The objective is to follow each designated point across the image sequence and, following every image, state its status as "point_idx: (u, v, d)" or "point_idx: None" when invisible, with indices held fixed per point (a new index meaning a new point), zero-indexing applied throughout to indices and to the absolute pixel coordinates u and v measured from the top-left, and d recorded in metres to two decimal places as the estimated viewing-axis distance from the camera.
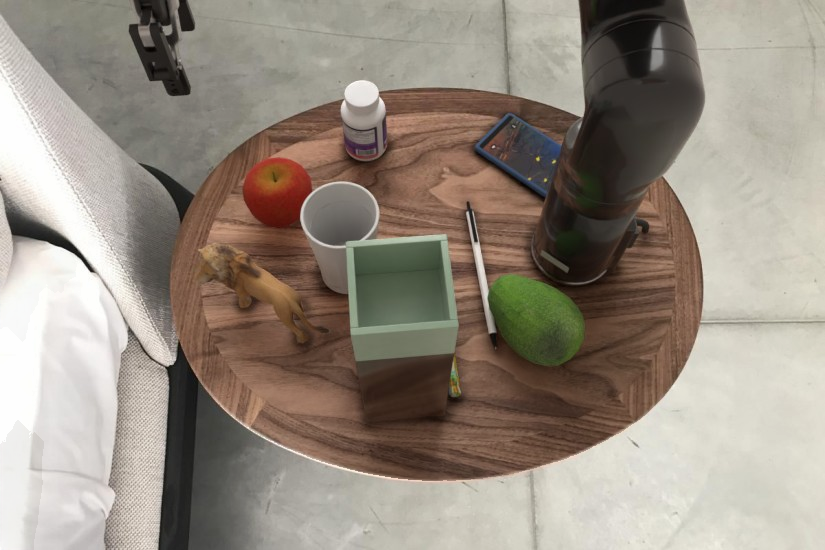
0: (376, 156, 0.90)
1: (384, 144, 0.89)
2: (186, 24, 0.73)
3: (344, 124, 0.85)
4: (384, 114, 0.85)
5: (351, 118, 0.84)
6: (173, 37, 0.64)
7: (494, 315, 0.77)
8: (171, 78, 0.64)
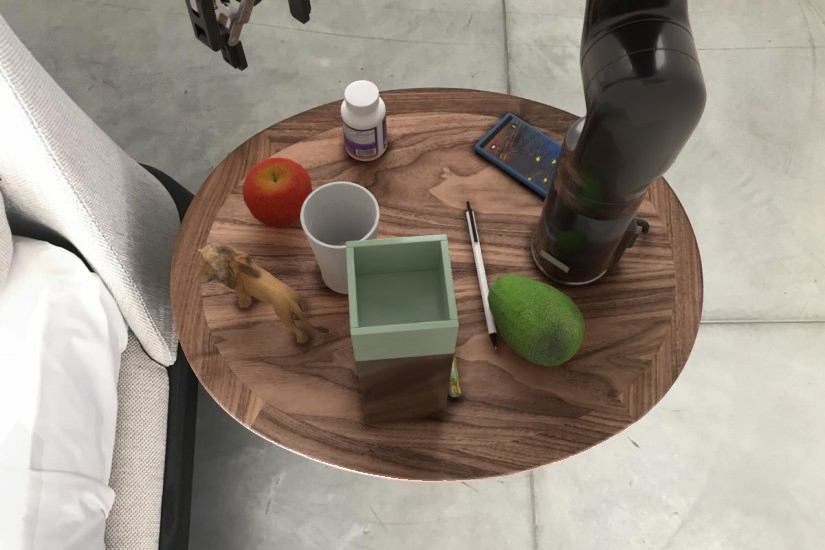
0: (376, 156, 0.90)
1: (384, 144, 0.89)
2: (299, 15, 0.73)
3: (344, 124, 0.85)
4: (384, 114, 0.85)
5: (351, 118, 0.84)
6: (235, 16, 0.65)
7: (494, 315, 0.77)
8: (210, 47, 0.66)
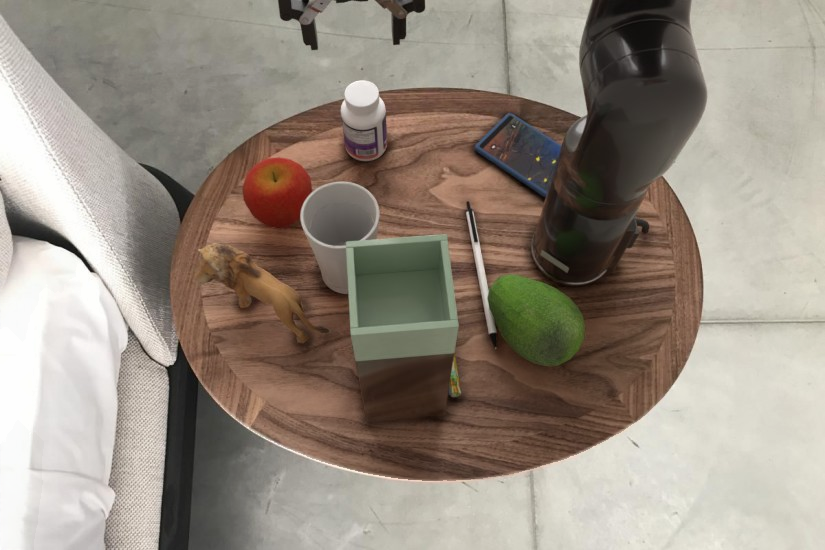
0: (376, 156, 0.90)
1: (384, 144, 0.89)
2: (392, 35, 0.75)
3: (344, 124, 0.85)
4: (384, 114, 0.85)
5: (351, 118, 0.84)
6: (312, 1, 0.69)
7: (494, 315, 0.77)
8: None
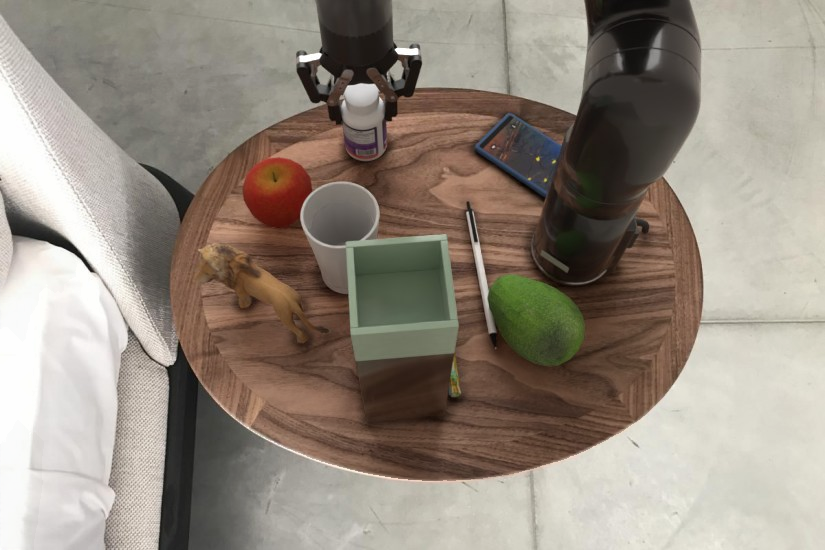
0: (376, 156, 0.90)
1: (384, 144, 0.89)
2: None
3: (344, 124, 0.85)
4: (384, 114, 0.85)
5: (351, 118, 0.84)
6: (333, 88, 0.80)
7: (494, 315, 0.77)
8: None
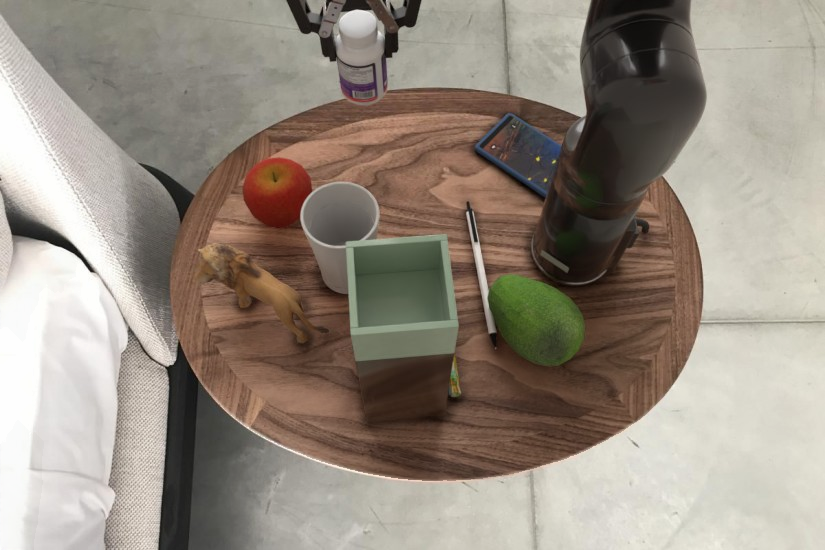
0: (375, 100, 0.81)
1: (384, 86, 0.80)
2: None
3: (339, 61, 0.76)
4: (383, 49, 0.76)
5: (346, 52, 0.75)
6: (325, 14, 0.71)
7: (494, 315, 0.77)
8: None
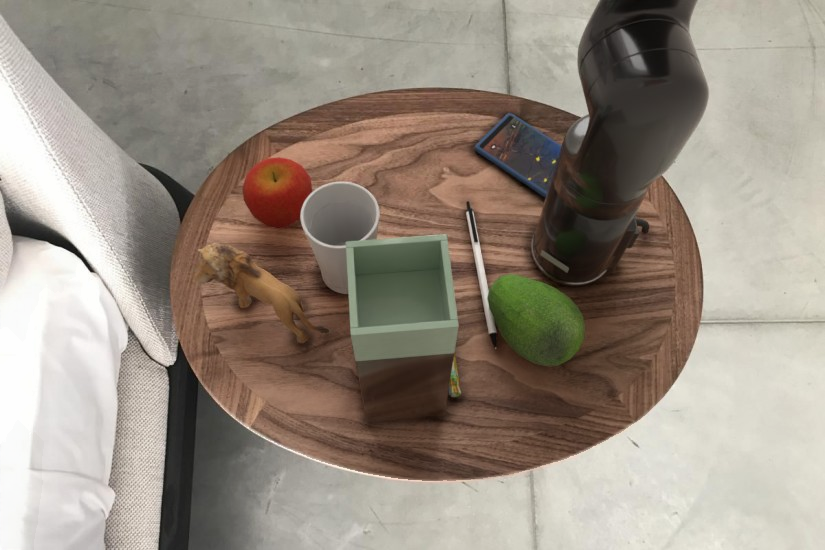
0: None
1: None
2: None
3: None
4: None
5: None
6: None
7: (494, 315, 0.77)
8: None
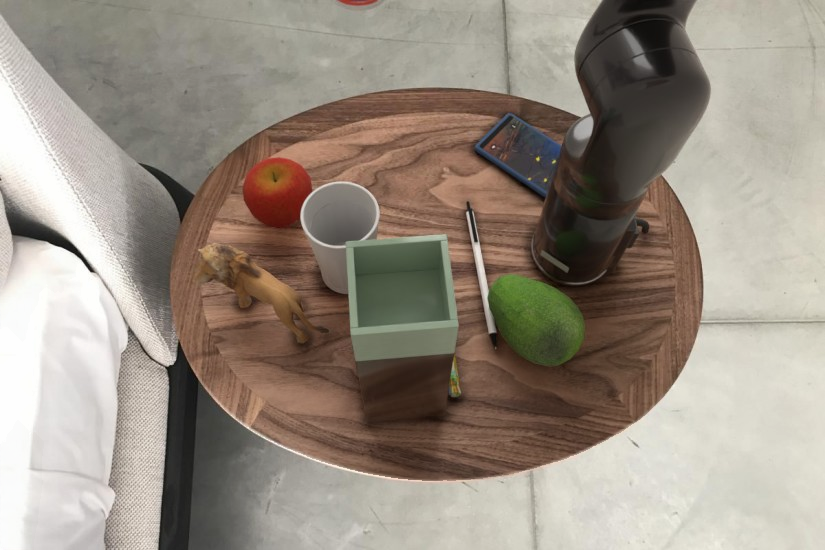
0: (375, 3, 0.58)
1: None
2: None
3: None
4: None
5: None
6: None
7: (494, 315, 0.77)
8: None
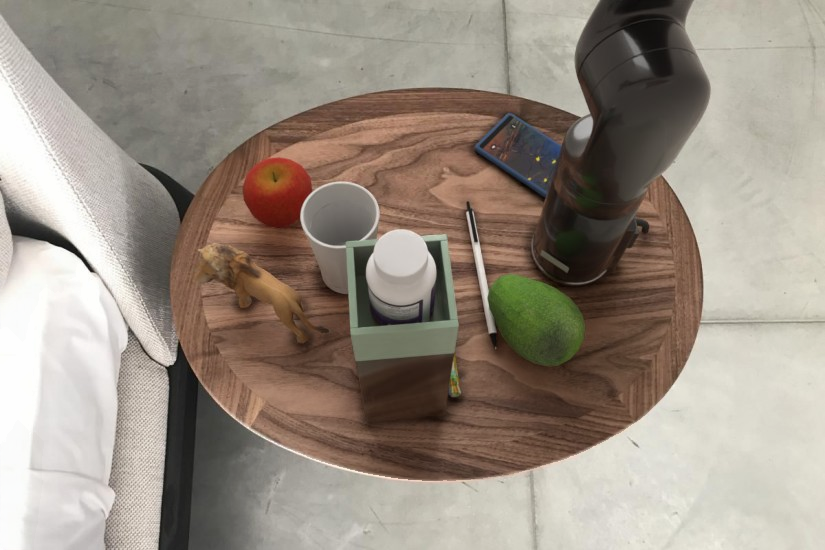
0: None
1: (431, 313, 0.59)
2: None
3: (372, 293, 0.55)
4: (434, 279, 0.54)
5: (383, 288, 0.53)
6: None
7: (494, 315, 0.77)
8: None
